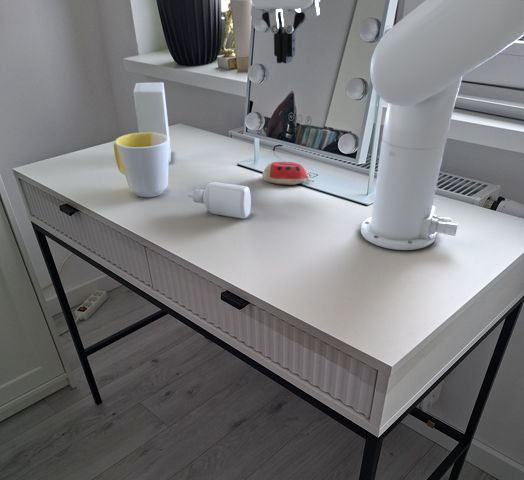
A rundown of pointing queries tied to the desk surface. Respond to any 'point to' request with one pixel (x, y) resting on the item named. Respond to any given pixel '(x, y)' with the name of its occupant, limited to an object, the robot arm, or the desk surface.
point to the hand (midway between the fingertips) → (284, 61)
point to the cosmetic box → (151, 109)
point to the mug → (143, 162)
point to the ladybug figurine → (285, 173)
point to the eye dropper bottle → (224, 199)
